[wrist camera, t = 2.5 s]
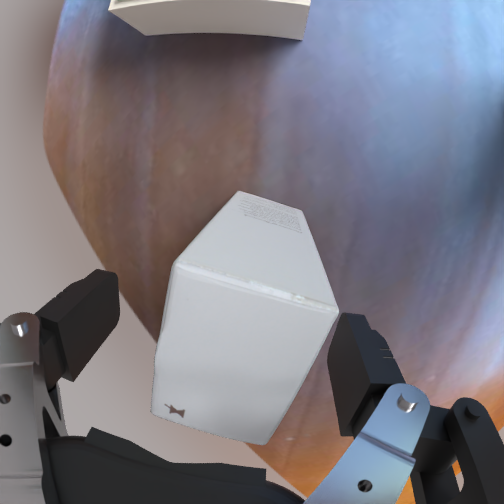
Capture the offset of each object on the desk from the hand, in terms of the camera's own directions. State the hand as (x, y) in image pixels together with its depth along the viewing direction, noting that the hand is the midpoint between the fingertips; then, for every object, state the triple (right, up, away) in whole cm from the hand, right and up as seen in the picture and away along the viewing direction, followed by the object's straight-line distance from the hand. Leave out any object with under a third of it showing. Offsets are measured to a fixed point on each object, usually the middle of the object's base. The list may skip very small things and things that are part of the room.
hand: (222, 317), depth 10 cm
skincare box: (+1, +3, +9) cm, 9 cm away
